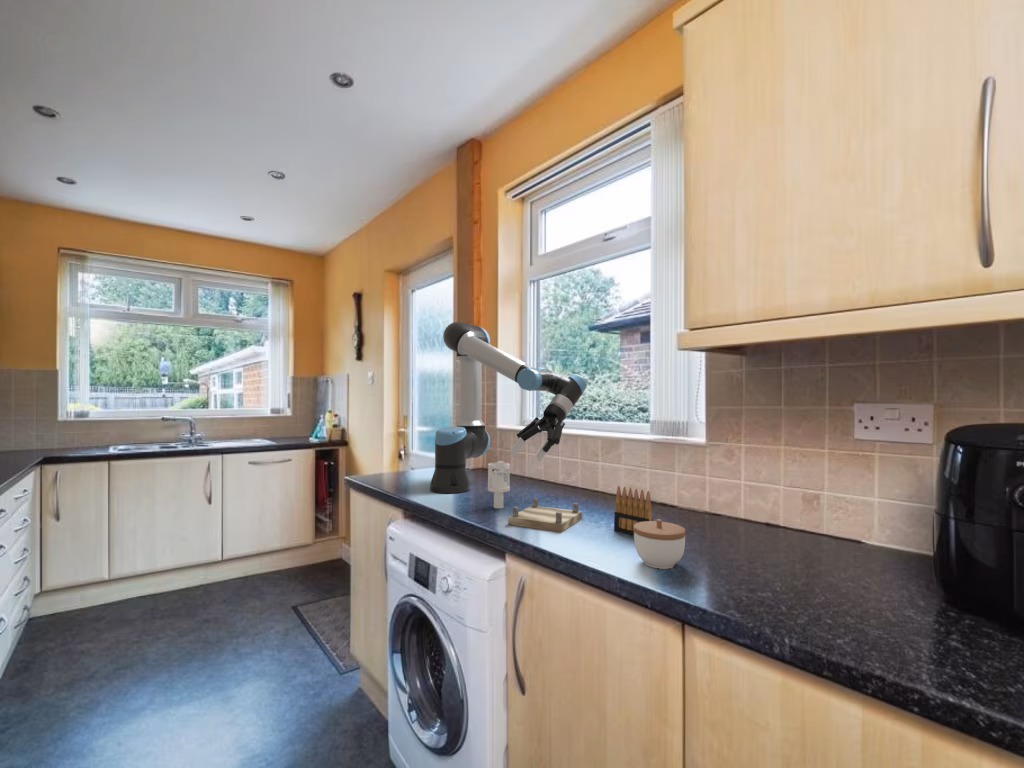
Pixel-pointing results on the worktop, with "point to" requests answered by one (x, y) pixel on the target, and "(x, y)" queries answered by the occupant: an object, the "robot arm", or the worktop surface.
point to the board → (545, 517)
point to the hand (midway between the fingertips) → (524, 456)
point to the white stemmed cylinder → (498, 481)
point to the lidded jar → (659, 543)
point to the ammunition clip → (631, 510)
